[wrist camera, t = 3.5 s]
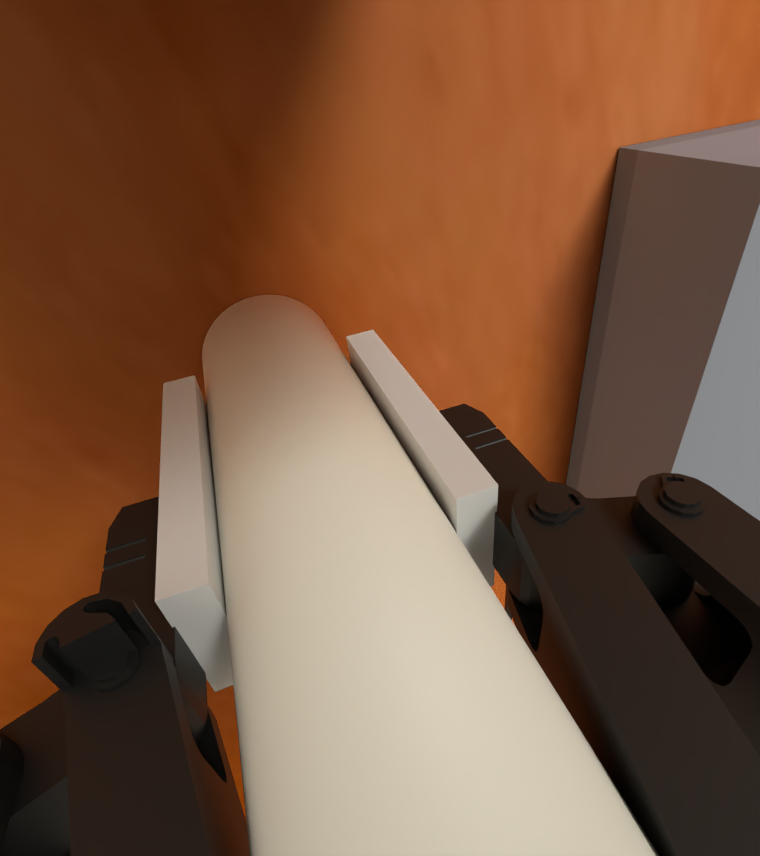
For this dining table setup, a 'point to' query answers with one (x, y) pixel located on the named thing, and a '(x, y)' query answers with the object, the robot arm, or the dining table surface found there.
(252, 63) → the dining table surface
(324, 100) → the dining table surface
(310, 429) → the dowel
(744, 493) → the bore block
